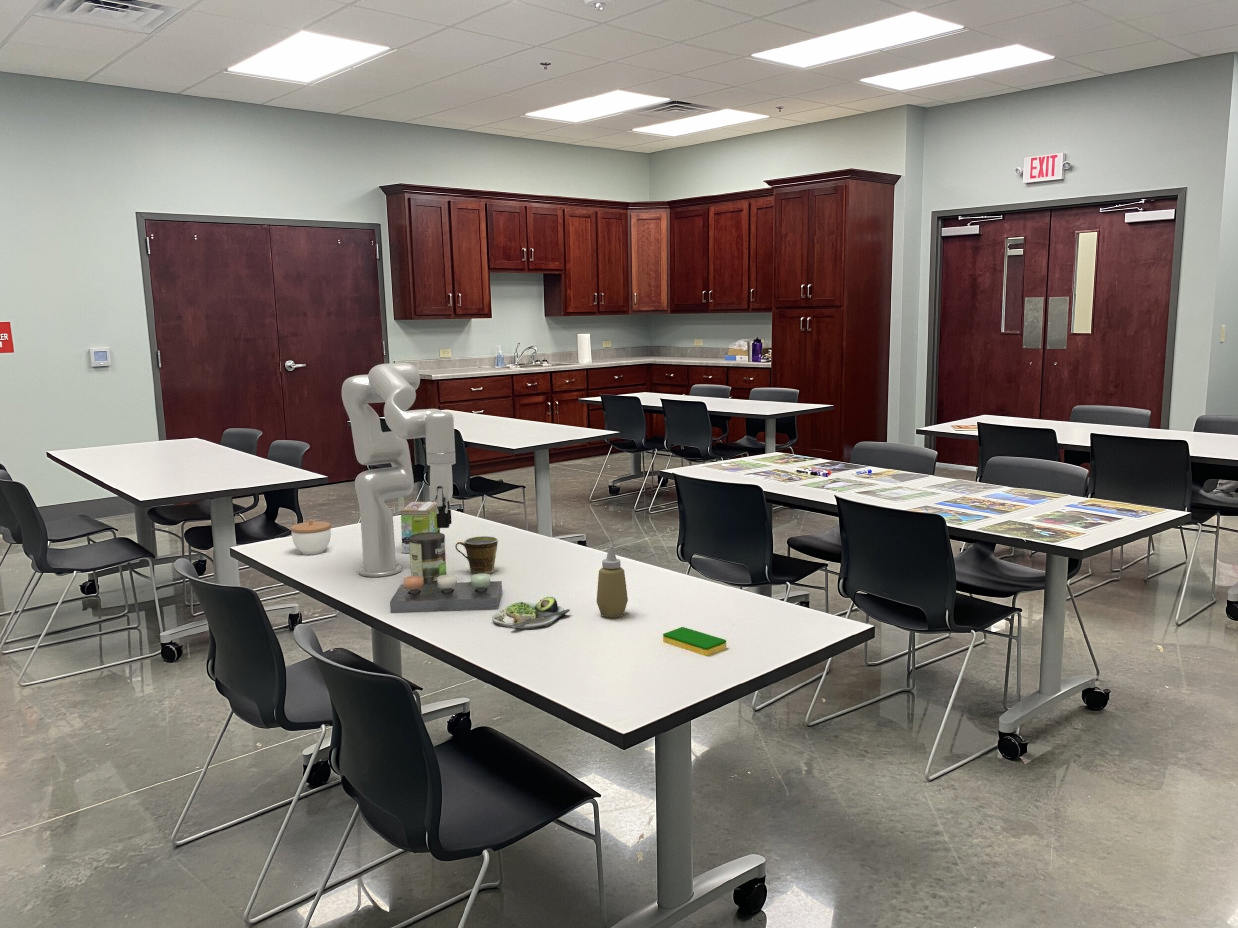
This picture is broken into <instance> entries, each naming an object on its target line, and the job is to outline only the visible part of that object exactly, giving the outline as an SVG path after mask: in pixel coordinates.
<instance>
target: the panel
mask: <svg viewBox="0 0 1238 928" xmlns="http://www.w3.org/2000/svg"><path fill="white" fill-rule="evenodd" d="M490 583H491V584H490V585H489V586H486V587H485V588H486V592H477V587H473V586H471V581H468V582H467V581H465V582H463V581H462V582H457V586H456V587H453V588H452V593H443V588H439V587H438V583H429V584H424V587H423V588H420V589H419V594H410V590H408V589H405V588H404V583H403V584H402V583H401V584H400V585H399V587H398V588H397V590H396V591H395V593H394V595H393V596H392V598H391V599H390V601H389V609H390V611H389V612H390V613H391V614H392V613H421V612H425V613H427V612H453V611H456V612H457V611H481V610H484V611H485V610H498V608H499V606H500V602H501V598H502V595H503V581H502V580H496V581H495V580H494V581H491V580H490Z"/></svg>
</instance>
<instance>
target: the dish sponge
mask: <svg viewBox="0 0 1238 928" xmlns="http://www.w3.org/2000/svg"><path fill="white" fill-rule="evenodd" d="M662 642H663V643H665V644H667V645H670V646H674V647H678V648H679V649H684V650H685V651H689V652H691V653H696V654H699V655H701V656H704V657H709V656H712V655H714V654H717V653H718V652H721V651H724V650H726V649H727V640H726V639H724V638H722V637H718V636H714V635H711V634H707V633H705V632H702V631H701V632H700V631H697V630H694V629H691V628H688V627H684V626H681V627H678V628H676V629H673V630H670V631H667V632H664V633H662Z"/></svg>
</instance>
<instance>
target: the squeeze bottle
mask: <svg viewBox="0 0 1238 928" xmlns="http://www.w3.org/2000/svg"><path fill="white" fill-rule="evenodd" d="M606 553H607V554H606V558H604V559H603V560H602V561H601V562H602V564H601V565H602V567H601V568H600V569H599V570H598V578H597V588H596V589H597V590H596V605H597V607H598V610H599V612H600V615H601V616H602V617H604V618H613V619H614V618H620V617H622V616H624V615H625V611H626V608H627V604H628V601H629V597H628V590H627V589H628V588H627V582H626V575H625V574H626V573H625V569H624V568H623V567H621V560H620V559H619V558H617V556H616V552H615V548H614V546H613V545H609V546H608V549H607V552H606Z"/></svg>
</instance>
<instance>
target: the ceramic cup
mask: <svg viewBox="0 0 1238 928" xmlns="http://www.w3.org/2000/svg"><path fill="white" fill-rule="evenodd" d="M498 541H499V539H498V538H497V537H495V536H488V535H487V536H485V535H483V536H473V537H469V538H467V539H465V540H464V541H458V542H456V544H455V550H456V551H457V552H458V553H459V554H462V556H463V557H464V558H466V560H467V561H468V566H469V569H470V574H472V573H473V574H472V575H474V574H480V573H485V574H489V575H491V574H490V573H492V572H494V571H495V566H496V565H495V563H496V555H497V554H496V553H497V550H498V543H499V542H498ZM458 545H461V546H462V547H464V550H465V552H466V554H465V553H463V552H462V551H461V550H459V549H458ZM492 574H493V573H492Z"/></svg>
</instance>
